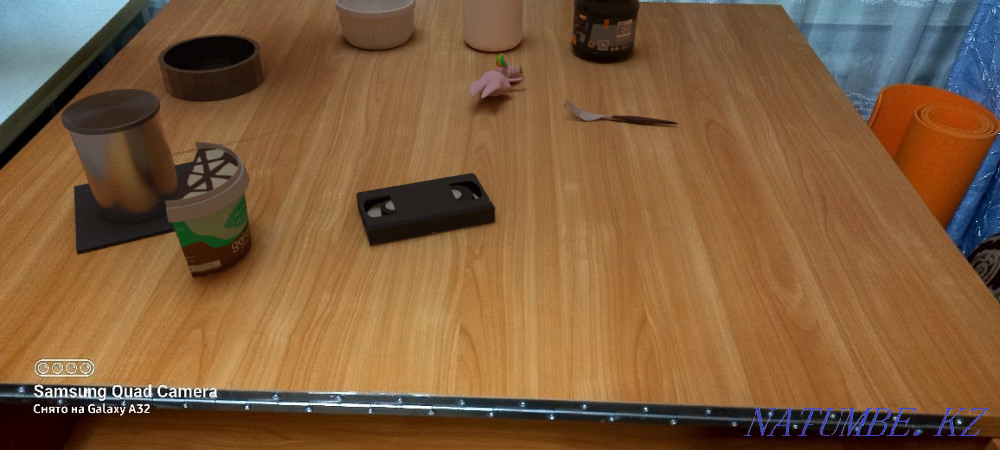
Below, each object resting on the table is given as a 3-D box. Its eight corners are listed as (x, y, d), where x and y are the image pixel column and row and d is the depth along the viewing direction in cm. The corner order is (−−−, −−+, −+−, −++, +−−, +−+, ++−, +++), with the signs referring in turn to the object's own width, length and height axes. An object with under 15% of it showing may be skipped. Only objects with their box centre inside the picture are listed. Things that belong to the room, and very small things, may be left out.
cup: (480, 28, 132) (480, -29, 126) (531, 38, 128) (533, -20, 123) (453, 47, 125) (451, -12, 119) (506, 58, 121) (507, -2, 115)
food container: (251, 284, 75) (231, 202, 69) (188, 287, 74) (163, 204, 68) (271, 214, 85) (255, 137, 79) (216, 216, 84) (196, 139, 78)
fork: (677, 131, 102) (679, 118, 101) (562, 119, 104) (563, 106, 103) (677, 122, 104) (679, 109, 103) (564, 110, 106) (565, 98, 105)
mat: (74, 188, 89) (73, 186, 88) (197, 163, 94) (196, 160, 93) (77, 254, 78) (76, 251, 78) (214, 221, 84) (213, 218, 83)
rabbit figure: (494, 80, 118) (455, 105, 105) (496, 42, 115) (457, 63, 102) (531, 86, 116) (496, 112, 103) (534, 48, 113) (499, 70, 100)
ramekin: (403, 20, 135) (401, -19, 131) (428, 46, 125) (426, 5, 121) (331, 30, 130) (326, -9, 126) (351, 58, 121) (346, 16, 117)
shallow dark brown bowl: (161, 73, 115) (153, 43, 112) (256, 58, 120) (250, 28, 117) (172, 112, 105) (163, 80, 102) (275, 93, 110) (269, 62, 107)
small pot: (94, 190, 88) (60, 98, 81) (180, 172, 91) (154, 82, 84) (98, 234, 81) (61, 137, 74) (190, 213, 84) (163, 118, 77)
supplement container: (580, 35, 129) (585, -34, 122) (640, 44, 126) (648, -27, 119) (562, 58, 121) (567, -15, 114) (625, 68, 118) (634, -7, 111)
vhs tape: (474, 186, 90) (474, 172, 89) (494, 221, 84) (494, 207, 83) (357, 206, 86) (355, 192, 85) (370, 245, 80) (368, 231, 79)
